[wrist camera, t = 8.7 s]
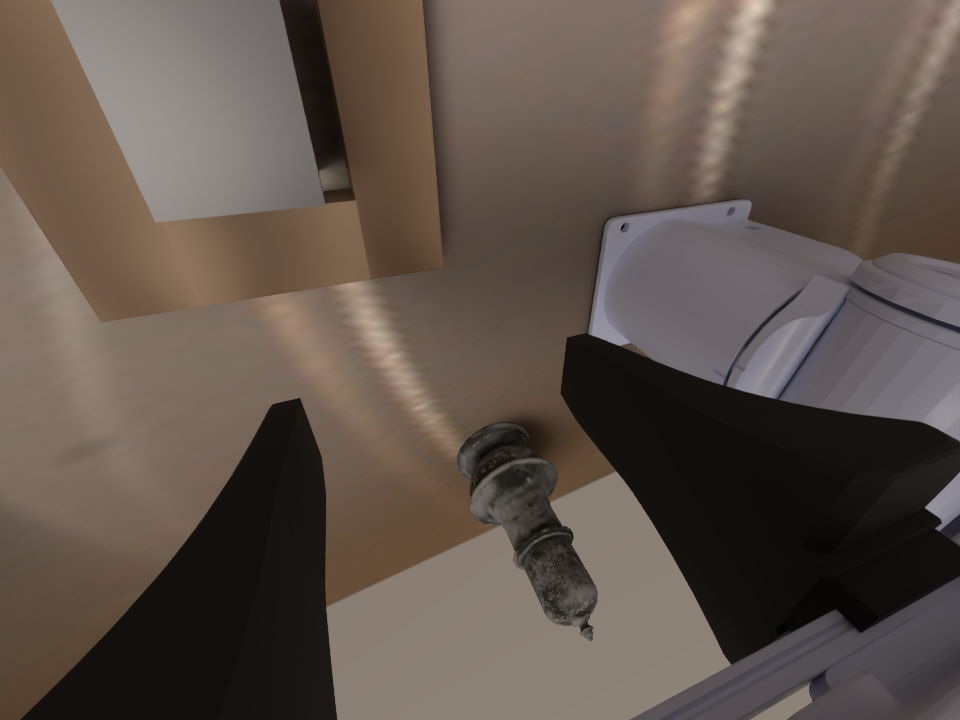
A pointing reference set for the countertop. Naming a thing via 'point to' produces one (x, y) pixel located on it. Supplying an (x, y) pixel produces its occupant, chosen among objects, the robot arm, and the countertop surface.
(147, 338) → the countertop surface
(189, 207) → the plug
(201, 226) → the socket frame
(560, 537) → the weathered stone finial
